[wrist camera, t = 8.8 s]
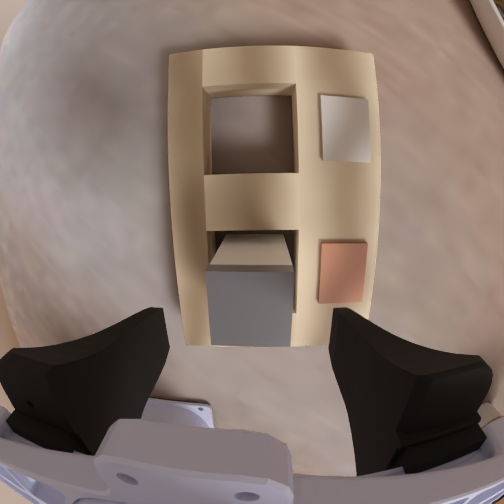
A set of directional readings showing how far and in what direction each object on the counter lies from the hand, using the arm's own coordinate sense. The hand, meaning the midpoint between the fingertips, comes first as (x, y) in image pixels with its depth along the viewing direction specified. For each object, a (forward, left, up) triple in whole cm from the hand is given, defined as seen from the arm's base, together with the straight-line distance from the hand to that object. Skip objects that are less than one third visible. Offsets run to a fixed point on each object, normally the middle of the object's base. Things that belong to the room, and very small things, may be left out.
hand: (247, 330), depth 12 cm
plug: (0, 0, -10) cm, 10 cm away
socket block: (+2, +5, -10) cm, 11 cm away
